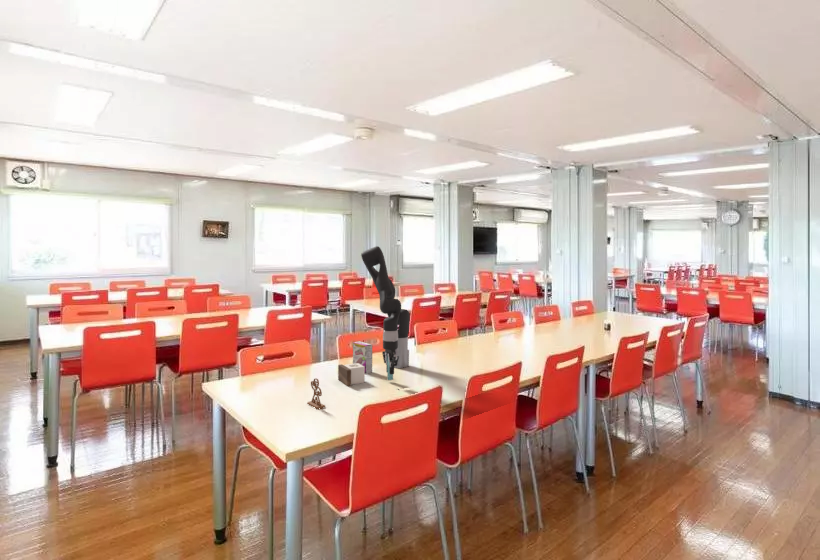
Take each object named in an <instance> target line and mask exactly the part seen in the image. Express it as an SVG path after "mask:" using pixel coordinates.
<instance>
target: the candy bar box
mask: <svg viewBox="0 0 820 560" xmlns="http://www.w3.org/2000/svg"><path fill="white" fill-rule="evenodd" d="M355 363H359V364H361V365H362V366H364V367H365V374H369V373H372V372H373V344H371V343H368V342H367V343H366V342H363V341H360V340H359V341H354V342H352V364H355Z"/></svg>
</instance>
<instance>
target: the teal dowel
mask: <svg viewBox="0 0 820 560" xmlns="http://www.w3.org/2000/svg"><path fill="white" fill-rule="evenodd" d="M391 364H392V362H391ZM386 368H387V367H386ZM386 373H387V374H386V375H387V377H386V379H387V380H388V381H392V380H394V374H390V364H389V362H388V368H387V372H386Z"/></svg>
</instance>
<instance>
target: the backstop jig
mask: <svg viewBox="0 0 820 560" xmlns="http://www.w3.org/2000/svg"><path fill="white" fill-rule="evenodd" d="M344 365H345V364H342V363H340V364H338V366H337V369H338V371H337V375H338V376H337V378H338V379H337V380H338V381H339V382H340V383H342V384H343V385H345V387H352V384H351V370H350V369H349V368H347V367H346V366H344Z"/></svg>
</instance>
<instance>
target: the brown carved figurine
mask: <svg viewBox="0 0 820 560" xmlns="http://www.w3.org/2000/svg"><path fill="white" fill-rule="evenodd" d="M319 386H320V380H319V378H313V380H311V381H310V387H311V389H312V390H313V395H312V397H311V398H312V399H311V401H307V402H306V405H307V404H309V405H311V406H313V407H315V408H317V409H318V410H320V409H319V408H322V409H324V408H323V407H325V408H326V405H325V404H323V403H321V399H320V397H322V396H323V394H322V393H323V392H322V389H321V387H319ZM309 405H308V406H309ZM311 406H310V407H311ZM313 407H312V408H313ZM315 408H314V409H315ZM317 409H316V410H317Z"/></svg>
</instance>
